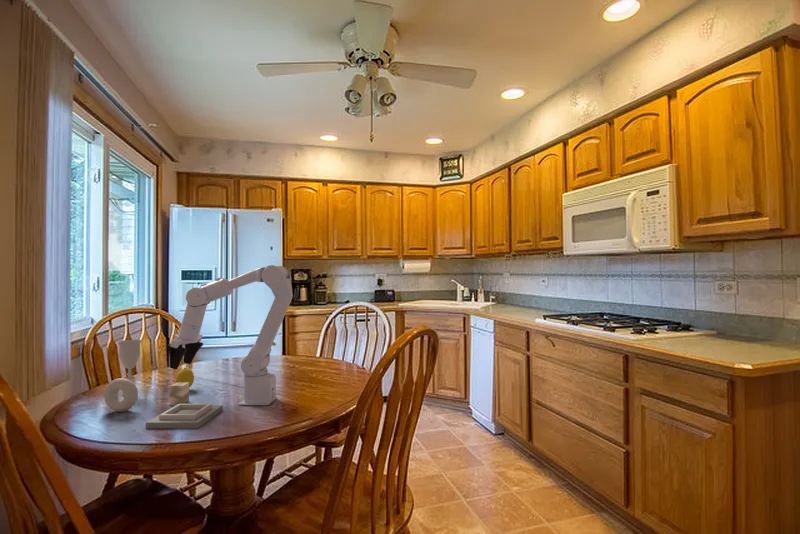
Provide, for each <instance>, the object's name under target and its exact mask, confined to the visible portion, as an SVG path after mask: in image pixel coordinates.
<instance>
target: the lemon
mask: <svg viewBox="0 0 800 534" xmlns="http://www.w3.org/2000/svg"><path fill="white" fill-rule="evenodd" d="M194 381H195V376H194V372H193V370H192V369H190V368H187V367H183V368H182V369H180V370H179V371H178V372H177V374H176V378H175V382H176V383H185V382H189V388H191V387H192V386H193V384H194Z"/></svg>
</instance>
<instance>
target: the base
mask: <svg viewBox="0 0 800 534" xmlns="http://www.w3.org/2000/svg"><path fill="white" fill-rule="evenodd" d="M222 411H223V405H222V404H221V405H220V404H218V405H217V404H213V403H185V404H178V405H173V406H172V407H171V408H169V409H167V410H165V411H163V412H162V413H160V414H159V415H157V416H155V417H153V418H151V419H150V420H148V421H146V422H145V429H199V428H200V427H202V426H204V424H206V423H208V422H209V421H210V420H211V419H213V418H214V417H216V416H217V415H218V414H220V413H221V412H222Z"/></svg>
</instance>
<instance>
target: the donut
mask: <svg viewBox="0 0 800 534" xmlns="http://www.w3.org/2000/svg"><path fill="white" fill-rule="evenodd" d="M119 391H123V392H124V395H125V396H123V397H124V398H123V399H121V398H120V396H119ZM103 396H104V397H103V398H104V403H106V406H107V407H108V408H109V409H110V410H112V411H114V412H118V413H123V412H126V411H127V412H128V410H131V409H132V408H133V407H134V406H135V405H136V403H137V401H138V398H139V391H138V388H137V386H136V384H135V383H134V382H133V380H132V381H131V380H129V379H128V378H125V377H120V378H115V379H113V380H111V381H110V382H109V383H108V384H107V386H106V387H105V389H104V394H103Z"/></svg>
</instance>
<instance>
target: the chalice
mask: <svg viewBox="0 0 800 534" xmlns="http://www.w3.org/2000/svg"><path fill="white" fill-rule="evenodd" d="M142 340H143V339H128V340H127V339H125V340H120V341H117V343H118V346H119V349H118V350H119V351H118V352H119V356H118V357H119V358H120V361H121V363H122V365H123V367H124V368H125V369H127V370H128V371H127V374H126V375H127V379H129V380H131V381H132V382H133V378H132V377H133V371H132V370H133V368H135V367H136V366H137V363H138V361H139V358H140V356H141V343H142ZM121 391H122V390H121ZM120 396H121V397H125V395H124V392H123V391H122V392H121V394H120Z"/></svg>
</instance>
